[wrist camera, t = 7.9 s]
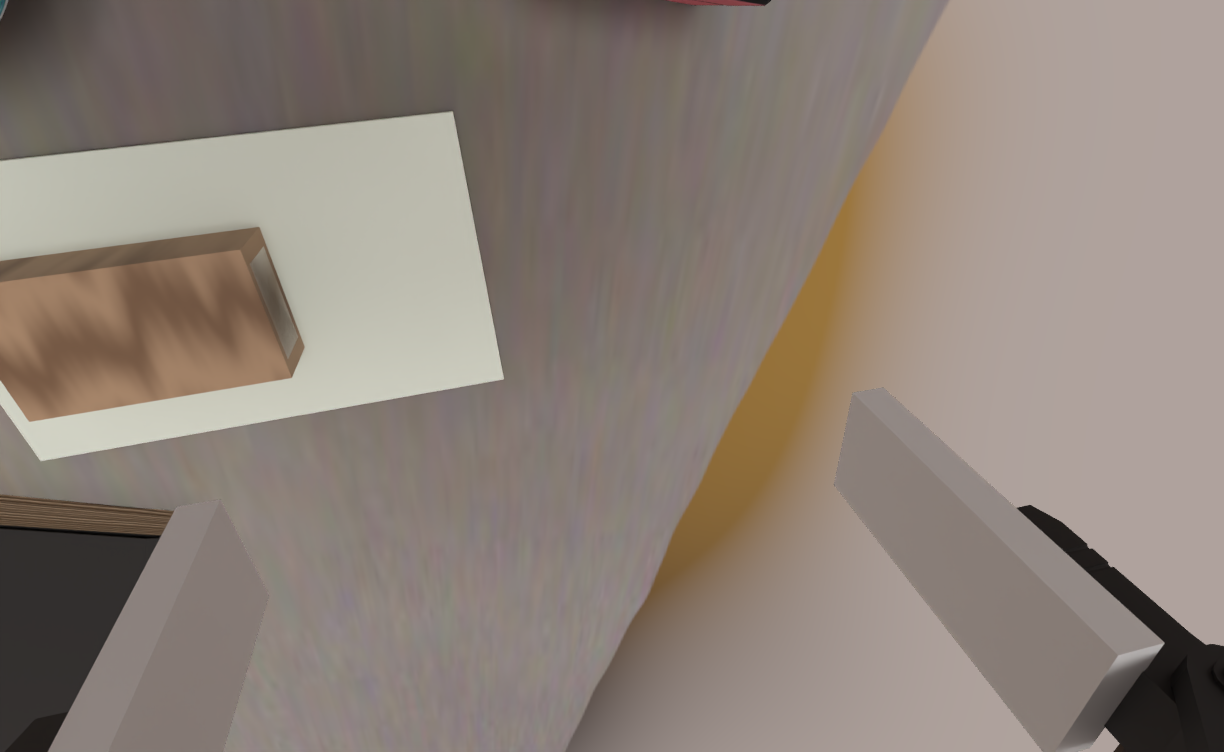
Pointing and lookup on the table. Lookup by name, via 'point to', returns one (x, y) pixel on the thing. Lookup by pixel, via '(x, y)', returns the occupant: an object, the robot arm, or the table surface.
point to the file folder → (62, 597)
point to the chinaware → (2, 7)
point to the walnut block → (143, 323)
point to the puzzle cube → (724, 2)
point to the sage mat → (282, 261)
